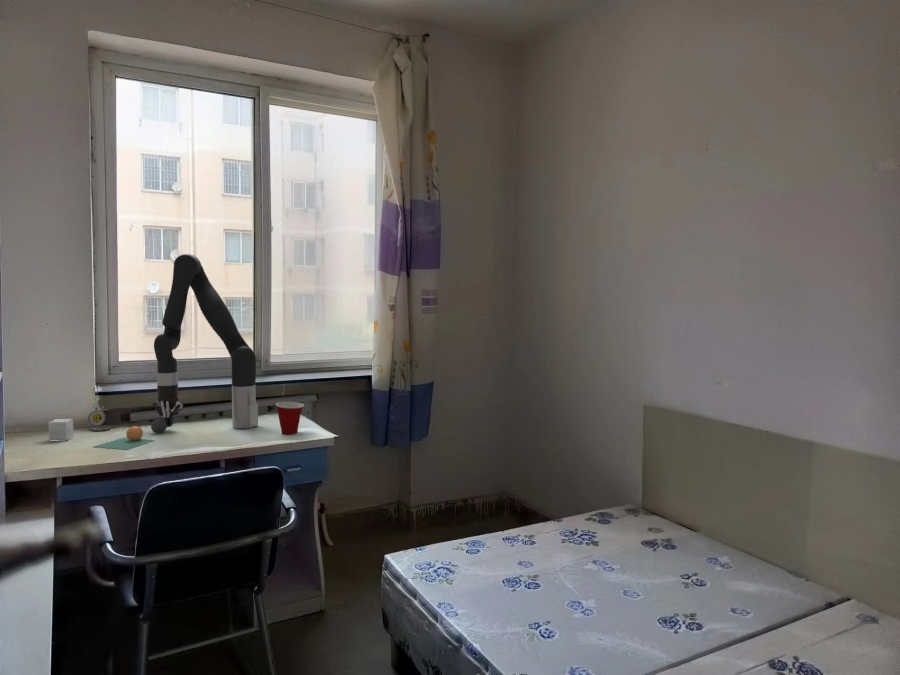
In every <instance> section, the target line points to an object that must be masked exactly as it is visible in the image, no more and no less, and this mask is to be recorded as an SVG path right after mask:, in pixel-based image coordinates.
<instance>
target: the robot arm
mask: <svg viewBox="0 0 900 675" xmlns="http://www.w3.org/2000/svg"><path fill="white" fill-rule="evenodd" d="M172 273H173V274H172V283H171V287H170V288H171V289H170V292H169V296H168V300H167V303H166V307H165V310H164V314H163V317H162V326H163V327H164V330H163V333H161V334H158V335H157V336H156V337H155V338H154V341H153V349H154V350H153V351H154V354H155V359H156V361H157V376H156V378H157V379H156V386H157V387H156V389H157V396H158V398H157V401H155V402H154V403H152V406H153V407H154V409H155V410H156V413H157V414H158V416H162V417H163V420H164V421H165V422H166V424H167V427H166V428H170V427H173V424H174V417H175V416H178V415H179V414H180V412H181V410H182V409H183V407H184V403H180V401H179V397H178V395H179V376H178V361H177V358H175V357H174V354H173V351H174V350H176V349H177V348H178V347H179V345H180V342H181V336H182V335H181V334H182V324H183V320H184V318H185V314H186V308H187V302H188V294H189V290H190V288H191V290H192V291H193V293H194V296H195V298H196V301H197V304H198V306H199V309H200V311H201V313H202V315H203V316H204V318H205V320H206V322H207V323H208V325H209V326H210V327H211V328H212V330H213V331H214V332H215V334H216V335H217V336H218V337H219V338H220V340H221V341H222V343H223V344H224V346H225V348H226V350H227V352H228V355H229V356H230V357H229V358H230V359H231V410H232V411H231V413H232V414H231V417H232V418H231V420H232V424H231V425H232V428H233V429H237V428H245V429H252V427H253V428H255V427H257V426H256V425H258V426H259V404H258V402H257V399H256V398H257V397H256V394H257V393H256V392H257V391H256V390H257V388H256V385H257V384H256V379H257V358H256V357H257V356H256V353H255V352H254V350H253V349H252V348H251V347H250V346H249V344H247V342H246V341H245V339H244V337H242V335H241V333H240V331H239V330H238V328H237V324H236V322H235V320H234V318H233V316H232V314H231V311H230V310H229V308H228V306H227V305H226V304H225V302H224V300H223V299H222V297H221V296H220V294H219V293H218V292H217V290H216V289H215V288H214V286H213V285H212V283H211V282H210V280H209V277H208V276H207V274H206V272H205V269H204V267H203V266H202V263H201V261H200V259H199V258H198V257H197V256H196V255H194V254H191V253H183V254H180V255H178V256H177V257H176V258H175V260H174V262H173V272H172ZM254 426H255V427H254Z"/></svg>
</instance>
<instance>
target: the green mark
mask: <svg viewBox="0 0 900 675" xmlns="http://www.w3.org/2000/svg"><path fill="white" fill-rule="evenodd" d="M154 440H155V439H146V438H145V439H144V438H141V439H139V440H137V441H131V440H129V439H128V438H127V437H121V438H118V439H114V440H111V441H108V442H105V443H100V444H98V445H93V448H98V447H102V448H101V449H110V448H112V450H124V451H125V450H126V451H128V450H130V449H134V448H137V447H140V446H143V444H144V445H147V444H149V442H150V443H151V442H152V441H153V442H155V441H154ZM146 443H147V444H146Z"/></svg>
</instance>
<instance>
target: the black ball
mask: <svg viewBox="0 0 900 675" xmlns="http://www.w3.org/2000/svg"><path fill="white" fill-rule="evenodd" d="M150 428H151V431H152V432H153V433H154V434H163V433H164V432H165V431H166V429H167V428H168V427H167V424H166V422H165V421H164V419H160V418H158V419H155V420H154V421H152V423H151V424H150Z"/></svg>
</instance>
